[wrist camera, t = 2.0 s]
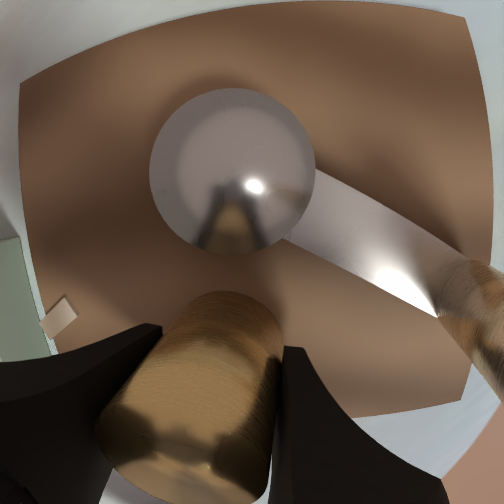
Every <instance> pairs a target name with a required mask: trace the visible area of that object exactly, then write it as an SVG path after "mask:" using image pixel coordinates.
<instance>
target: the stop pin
mask: <svg viewBox="0 0 504 504" xmlns="http://www.w3.org/2000/svg"><path fill="white" fill-rule="evenodd" d="M282 356H283V334H282V331H281V327H280V325H279V323H278V321H277V320H276V318H275V316H274V315H273V314H272V313H271V311H270V310H269V309H268V308H267V307H265V306H264V305H263V304H262V303H260V302H259V301H257V300H256V299H254V298H252V297H250V296H247V295H245V294H242V293H238V292H233V291H214V292H209V293H206V294H203V295H201V296H199V297H197V298H195V299H194V300H193V301H191V302H190V303H189V304H188V305H187V306H186V307H185V308H184V310H183V311H182V312H181V313H180V314H179V316H178V317H177V318H176V319H175V321H174V322H173V323H172V324H171V326H170V327H169V328H168V329H167V331H166V332H165V333H164V334H163V336H162V337H161V338H160V339H159V340H158V342H157V343H156V344H155V345H154V347H153V348H152V349H151V350H150V352H149V353H148V354H147V355H146V357H145V358H144V359H143V360H142V362H141V363H140V364H139V365H138V367H137V368H136V369H135V371H134V372H133V373H132V374H131V376H130V377H129V378H128V379H127V381H126V382H125V383H124V384H123V386H122V387H121V388H120V389H119V391H118V392H117V393H116V395H115V396H114V397H113V398H112V400H111V401H110V402H109V403H108V405H107V406H106V407H105V409H104V410H103V411H102V412H101V414H100V415H99V417H98V418H97V420H96V424H95V436H96V440H97V443H98V446H99V448H100V450H101V452H102V453H103V455H104V456H105V458H106V459H107V461H108V462H109V463H110V464H111V465H112V467H113V468H114V469H115V470H116V471H117V472H118V473H119V474H121V475H122V476H123V477H124V478H125V479H127V480H128V481H129V482H130V483H132V484H133V485H135V486H136V487H138V488H139V489H141V490H143V491H144V492H146V493H148V494H150V495H152V496H154V497H156V498H158V499H161V500H163V501H166V502H168V503H171V504H251V503H253V502H255V501H256V500H258V499H259V498H260V497H261V496H262V495H263V494H264V492H265V490H266V488H267V485H268V478H269V471H270V463H271V455H272V448H273V439H274V431H275V423H276V414H277V405H278V396H279V381H280V372H281V362H282Z"/></svg>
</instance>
